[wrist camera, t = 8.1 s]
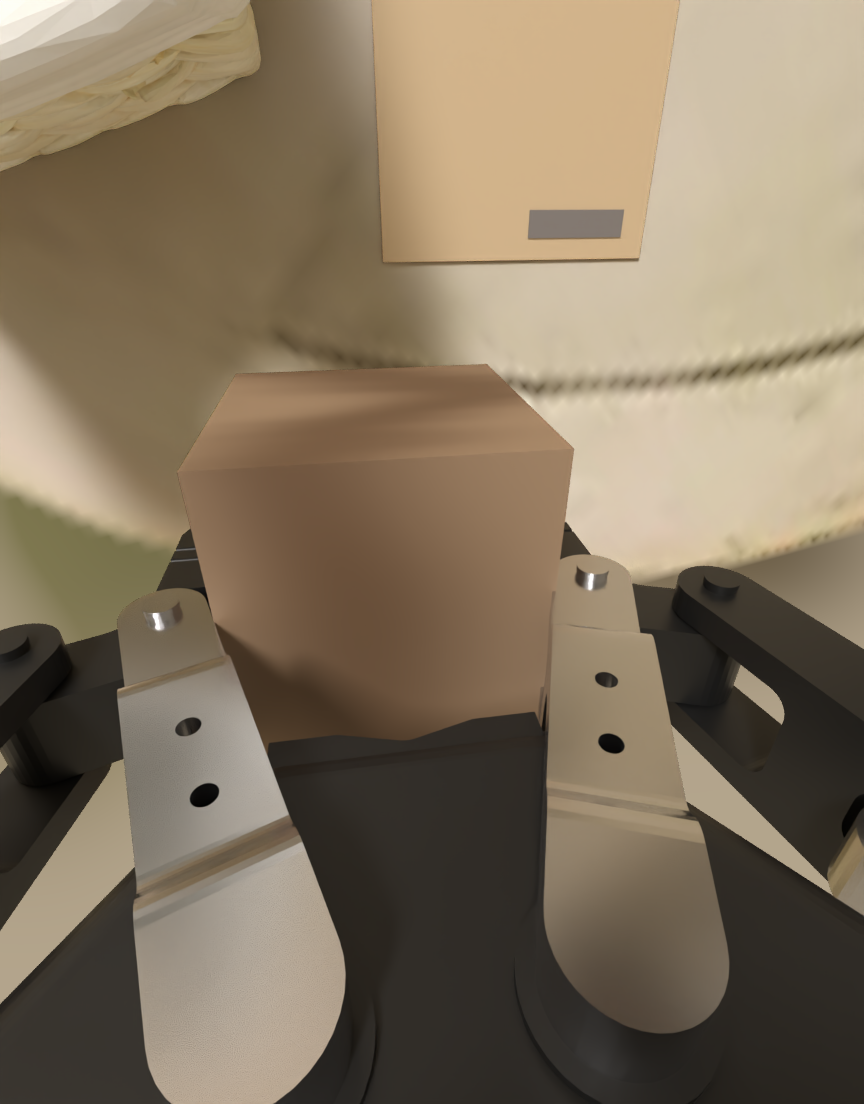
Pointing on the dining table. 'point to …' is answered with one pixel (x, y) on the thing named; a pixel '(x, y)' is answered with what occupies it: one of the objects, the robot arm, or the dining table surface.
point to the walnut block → (379, 546)
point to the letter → (518, 126)
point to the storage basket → (111, 65)
